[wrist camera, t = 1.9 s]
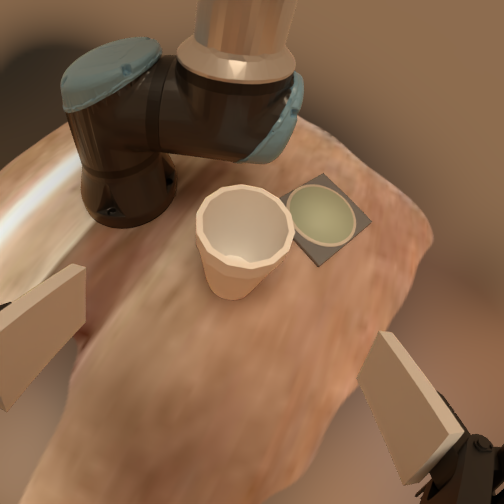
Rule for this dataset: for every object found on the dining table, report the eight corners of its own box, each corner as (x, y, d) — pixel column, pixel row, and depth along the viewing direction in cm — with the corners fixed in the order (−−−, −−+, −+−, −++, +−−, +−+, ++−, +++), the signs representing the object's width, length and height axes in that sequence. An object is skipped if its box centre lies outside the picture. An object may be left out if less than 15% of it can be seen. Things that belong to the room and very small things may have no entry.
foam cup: (279, 271, 41) (310, 217, 30) (242, 326, 37) (263, 288, 26) (221, 234, 43) (232, 170, 31) (180, 283, 38) (174, 229, 27)
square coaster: (264, 208, 46) (265, 205, 45) (322, 175, 52) (323, 172, 51) (318, 267, 43) (320, 265, 42) (370, 223, 49) (372, 220, 48)
